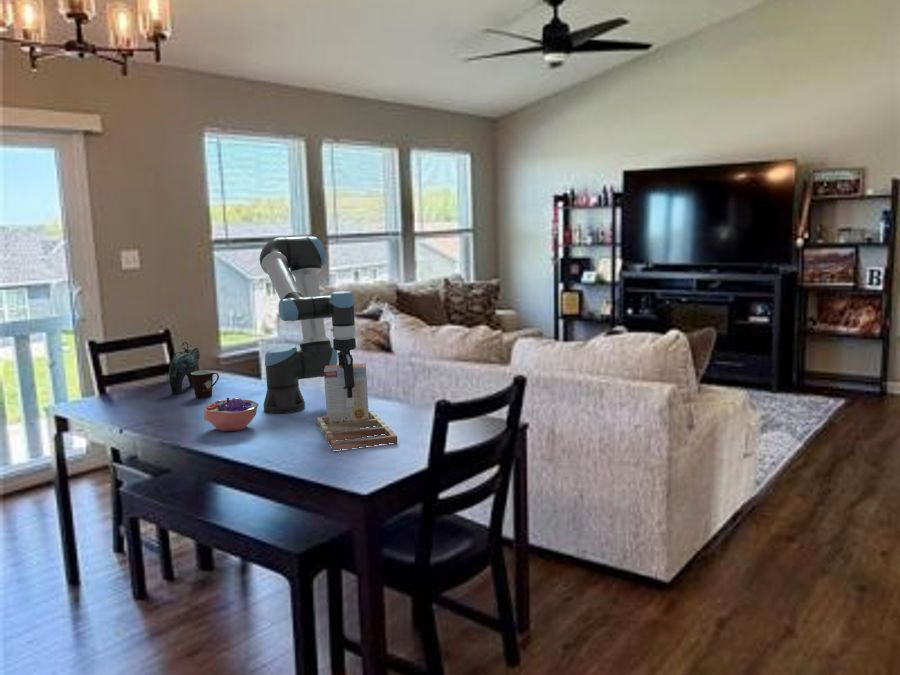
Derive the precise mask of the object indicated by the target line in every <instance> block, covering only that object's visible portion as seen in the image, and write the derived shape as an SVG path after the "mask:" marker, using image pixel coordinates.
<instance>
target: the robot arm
mask: <svg viewBox="0 0 900 675" xmlns="http://www.w3.org/2000/svg"><path fill="white" fill-rule="evenodd" d="M325 263H326V255H325V250H324V246H323V244H322V242H321V240H320V239H319V238H318V237H317V236H307V235H305V236H291V237H290V236H289V237H276V238H273V239H271V240H270V241H268V242H267V243H266V244H265V245H264V246H263V247H262V250H261V251H260V254H259V264H260V266H261V269H262V271H263V272H264V273H265V274H266V275H268V276H269V279H270V281H271V283H272V286H273V287H274V289H275V291H276V293H277V296H278V298H279V302H278V314H279V318H280V319H281V320H282V321H283V322H297V321H300V325H301V332H302V340H301V341H300V343H299V348H298V347H297V346H296V345H294V344H288V345H281V346H276V347H273V348H270V349H268V350H267V351H266V352H265V354H264V366H265V375H266V376H265V378H266V394H265V397H264V402H263V411H264V412H265V413H268V414H276V415H277V414H289V413H295V412H299V411H301V410H303V409H305V408H306V405H305V399H304V396H303V394H302V392H301V389H300V384H299V380H305V379H307V380H308V379H314V378H323V377H324V368H325V366H331V365H342V368H343V369H344V378H345V387H343V388H344V389H345V402H346V407H354V394H353V387H354V386H355V385H354V374H353V363H354V359H353V355H352V354H351V350H352V351H354V350H355V349H356V348H357V342H356V341H357V340H356V323H355V300H354V294H353V292H351V291H349V290H348V291H346V290H344V291H343V290H341V291H340V290H339V291H334V292H331V293H330V294H325V295H322V296H321V288H320V282H319V274H320V272H322V267H323V266H324V265H325ZM328 318H331V326H332V328H331V329H330V331H331V332H332V336H333V339H332V344H331V339H330V338H328V337H327V335H326V328H325V321H324V319H328Z"/></svg>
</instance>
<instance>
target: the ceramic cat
mask: <svg viewBox="0 0 900 675" xmlns="http://www.w3.org/2000/svg"><path fill="white" fill-rule="evenodd" d="M185 344H186V347H184V345H185ZM181 346H182V348H183V351H177V352H176V353H175V354H174V355H172V356H173V357H172V358H171V359H172V360H171V361H170V364H169V368H168V382H169V384H170V389H171V394H173V395H175V394H176V395H179V394H181V393H182V392H183V388H182V387H183V381H184V379H185V377H187V379H188V380H187V381H188V383H189V386H190V387H193V383H192V378H191V373H192V372H196V371H200V365H199V364H200V363H199V360H200V356H201V355H200V354H201V353H200V349H199V348H197V347H196V346H195V347H194V346H193V345H192V343H190V345H189V344H188V342H187V341H184V342H182V343H181Z"/></svg>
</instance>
